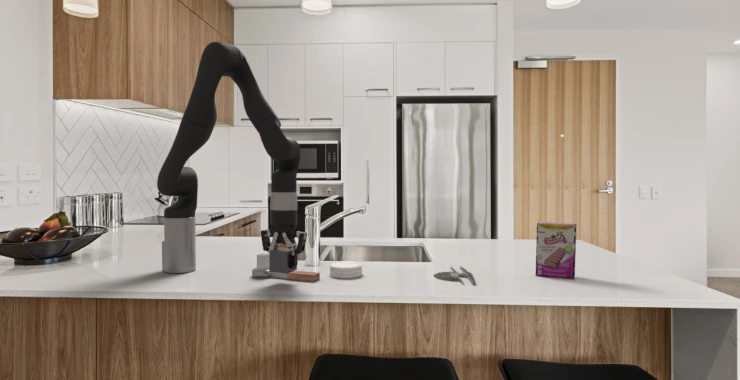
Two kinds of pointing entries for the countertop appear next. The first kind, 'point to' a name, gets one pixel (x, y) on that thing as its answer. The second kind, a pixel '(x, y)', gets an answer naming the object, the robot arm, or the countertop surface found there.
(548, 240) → the candy bar box
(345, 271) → the coaster
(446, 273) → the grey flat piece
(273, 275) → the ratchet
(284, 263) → the socket
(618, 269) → the countertop surface
